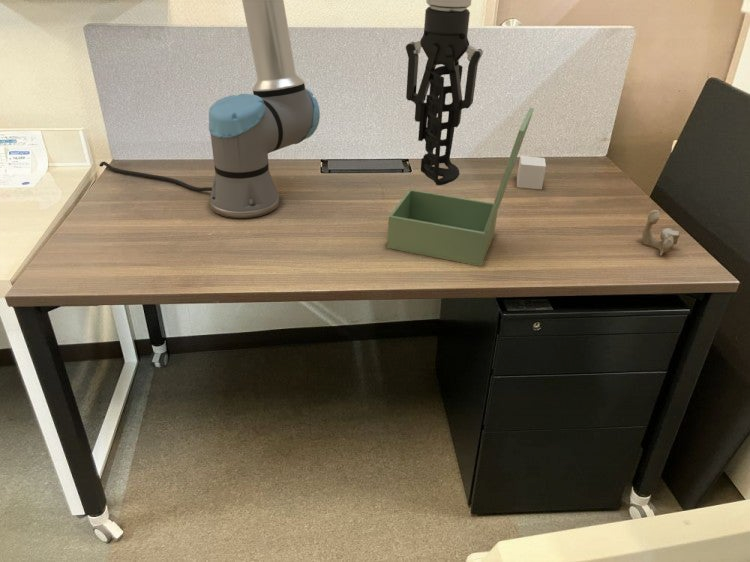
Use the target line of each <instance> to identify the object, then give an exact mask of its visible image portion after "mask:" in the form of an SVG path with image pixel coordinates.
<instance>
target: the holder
mask: <svg viewBox="0 0 750 562" xmlns="http://www.w3.org/2000/svg"><path fill="white" fill-rule="evenodd" d="M430 73H431V76H430V79H429V81H430V86H429V94H427V95H426V98H425V99H426V100H425V103H426V112H425V114H426V115H427V127H426V130H424V136H423V138H424V139H423V140H424V141H425V146H424V147H425V151H426V153H424V155H423V157H422V158H420V159H421V160H420V172H421V173H422V174H424V175H425V176H426V177H427V178H428V179H430V180H432V181H433V182H434V183H435V185H436V186H438V187H439V186H444V185H447V184H449V183H452V182H454V181H456V180H457V179H458V178H459V176H460V169H459V167H458V166H457V165H456V164H454V163H452V162H451V152H452V148H453V141H452V142H451V144H450V145H445V144H446V138H444V139H443V138H442V131H443V130H447V125H448V121H444V122H442V121H443V113H445V112H446V113H447V112H448V113H449V110H450V109H451V107H452V106H453V100H452V99H451V100H452V101H451V102H450V103H448V104H446V97H447V94H452V92H451V85H445V77H444V76H445V75H446V76H447V75H449V72H448V66H445V65H440V66H438V67H437V66H436V67H435V69H434V70H433V71H431V72H430ZM459 75H460V84H461V85H462V77H463V66H462V65H461V64H459ZM444 85H445V86H444ZM455 128H456V127H454V129H455ZM454 134H455V132H454V133H453V136H454ZM441 147H445V151H444V152H445V153H444V154H443V155H441ZM434 151H435V153H434ZM440 164H444V165H445V166H446V167H447V168H445V167H440ZM439 177H441V178H439Z"/></svg>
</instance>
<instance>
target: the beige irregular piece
mask: <svg viewBox="0 0 750 562" xmlns="http://www.w3.org/2000/svg"><path fill="white" fill-rule="evenodd" d="M660 214H661V213H660V211H659V210H658V209H652V210H650V211H649V213H648V215H647V221H646V223H645V226H644V229H643V231H642V236H641V243H642V244H643V245H646V246H650V247H653V248H656V249H658V250H659V252H660V253H659V256H660V257H662V256H663V255H664V253H667V252H669V250H671V249H672V248H673V247H674V245H678V241H679V238H680V237H681V233H680V230H674V229H672V228H670V227H666V228H664V229H662V230H661V232H660V235H659V239H660V240H658V239H657V238H655V236H654V235H653V234H652V228H653V225H656V224H657V223H658V221H659V220H660Z"/></svg>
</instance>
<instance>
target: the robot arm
mask: <svg viewBox="0 0 750 562" xmlns="http://www.w3.org/2000/svg"><path fill="white" fill-rule="evenodd" d="M241 2H242V8H243V11H244V12H243V13H244V17H245V23H246V28H247V33H248V37H249V44H250V47H251V52H252V59H253V64H254V67H255V73H256V78H257V79H256V82H255V83H254V86H253V87H252V93H253V94H251V93H239V94H237V95H236V94H232V95H228V96H225V97H222V98H219V99H218V100H216V101H215V102H213V103H212V104H211V106H210V108H209V109H208V131H209V134H210V140H211V149H212V157H213V164H214V178H213V182H212V186H211V187H210V186H209V187H208V186H207V187H206V186H205V187H198V186H193V185H191V184H188V183H186V182H183V181H181V180H179V179H176V178H172V177H168V176H164V175H157V174H153V173H152V174H151V173H145V172H139V171H134V170H128V169H123V168H119V167H118V168H117V167H114V166H113V165H111V164H109V163H108V162H107V161H101V162H100V163H99V165H98V166H99V167H104V166H105V167H106V168H107V169H109V170H111V171H113V172H115V173H121V174H125V175H126V174H127V175H130V176H131V175H132V176H137V177H143V178H149V179H155V180H161V181H167V182H171V183H173V184H177V185H179V186H182V187H183V188H186V189H189V190H192V191H195V192H210V198H209V203H210V209H211V210H212V211H213V213H215V214H217V215H219V216H222V217H226V218H230V219H253V218H258V217H261V216H262V217H263V216H266V215H268V214H270V213H272V212H274V211H275V210H276V209H277V208H278V207H279V205H280V194H279V192H278V189H277V187H276V184H275V182H274V180H273V177H272V174H271V172H270V165H269V154H270V153H273V152H275V151H278V150H281V149H284V148H287V147H289V146H292V145H298V144H300V143H302V142H304V141H305V140H306V139H309V138H310V137H312V136H313V135H314V133H315V132H316V131H317V130H318V127H319V124H320V118H321V112H320V111H321V110H320V105H319V102H318V100H317V98H316V97H314V94H313V92H312V91H311V90H309V89H308V88H306V84H305V80H303V79H302V78H301V77H300V76H298V75H297V72H296V67H295V61H294V54H293V47H292V43H291V36H290V30H289V25H288V19H287V13H286V8H285V1H284V0H241ZM426 4H427V5H428V7H427V8H426V9H425V13H424V25H423V26H424V27H423V35H422V36H421V38H420V40H418V41H410V42H408V43H407V44H406V45H405V50H406V54H407V58H408V59H407V60H408V61H407V75H406V76H407V77H406V78H407V79H406V94H405V97H406V98H405V99H406V100H407V101H411V102H412V103H414V105H415V109H414V121H415V122H417V123H418V125H419V126H418V137H417V141H419V142H423V141H424V140H425V139H424V138H423V136H424V130H426V127H427V120H428V117H427V115H426V114H425V112H426V99H427V95H428V91H429V90H430V81H429V79H430V76H431V73H430V72H431V71H433V70H434V69H436V68H437V66H439V65H440V66H448V72H449V74H448V75H449V81H450V86H451V92H452V93H451V100H453V106H452V107H451V109H450V110H449V112H448V117H447V122H448V125H447V129H446V134H445V135H446V136H445V137H446V138H445V139H446V144H445V145H450V144H451V142H452V143H453V141H454V135H453V133H454V134H455V128H458V127H459V125H461V119H462V110H463V109H469V108H470V107H472V105H473V102H474V96H475V87H476V82H477V74H478V73H477V72H478V65H479V62H480V60H481V58H482V56H483V53H484V51H483V49H481V48H478V49H477V48H475V47H473V46H471V45H470V41H469V37H468V32H469V24H470V15H471V12H470V10H469V9H468V8H470V6H472V0H426ZM421 49H422V50H423V52H424V54H425V56H426V57H427V61H426V63H425V69H424V72H423V76H422V78H421V82H420V85H419V88H417V86H418V74H419V73H418V71H419V54H420V53H421V51H422V50H421ZM465 53H466V54H467V56H466V57H467V60H468V62H469V63H468V67H467V74H466V83H465V91H464V98H463V95H462V94H463V92H462V83H461V84H460V75H459V65H460V62H459V60H460V59H461V58H462V57H463V55H465ZM417 89H418V91H417ZM454 127H455V128H454Z"/></svg>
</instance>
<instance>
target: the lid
mask: <svg viewBox="0 0 750 562" xmlns="http://www.w3.org/2000/svg"><path fill="white" fill-rule="evenodd" d="M534 110H535V108H534V107H529V108H528V110H527V112H526V115H525V118H524V119H523V121H522V123H521V125H520V128H519V129H518V132H517V135H516V138H515V141H514V143H513V147H512V149H511V152H510V155H509V158H508V160H507V164H506V166H505V170H504V173H503V175H502V178H501V181H500V184H499V187H498V189H497V192H496V194H495V195H496V196H495V198H494V201H493V203H494V204H493V207H492V210H491V213H490V215H489V218H488V221H487V224H486V227H485V230H484V231H486V232H489V229H490V227H491V225H492V222H493V220H494V217H495V215H496V213H497V214H498V211H499V208H500V206H501V203H502V201H503V198H504V195H505V192H506V189H507V186H508V183H509V181H510V178H511V176H512V173H513V170H514V167H515V164H516V161H517V158H518V155H519V153H520V151H521V147H522V144H523V141H524V139H525V136H526V133H527V130H528V127H529V125H530V121H531V119H532V116H533V113H534ZM497 210H498V211H497Z"/></svg>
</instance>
